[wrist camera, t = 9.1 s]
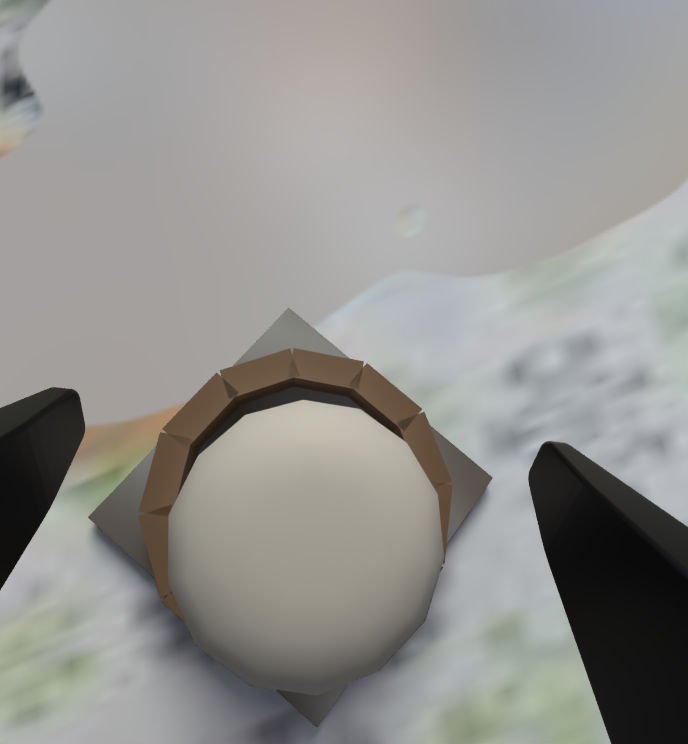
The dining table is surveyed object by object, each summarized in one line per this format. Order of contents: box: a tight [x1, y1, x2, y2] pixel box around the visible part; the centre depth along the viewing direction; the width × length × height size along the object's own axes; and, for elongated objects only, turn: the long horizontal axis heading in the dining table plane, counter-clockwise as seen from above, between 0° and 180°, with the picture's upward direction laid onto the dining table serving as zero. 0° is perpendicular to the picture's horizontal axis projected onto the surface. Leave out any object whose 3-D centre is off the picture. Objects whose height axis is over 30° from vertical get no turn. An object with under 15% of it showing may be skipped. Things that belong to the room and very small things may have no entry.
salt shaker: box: [168, 400, 444, 695], centre depth 12 cm, size 6×6×13 cm
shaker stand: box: [88, 308, 492, 727], centre depth 18 cm, size 12×12×3 cm
